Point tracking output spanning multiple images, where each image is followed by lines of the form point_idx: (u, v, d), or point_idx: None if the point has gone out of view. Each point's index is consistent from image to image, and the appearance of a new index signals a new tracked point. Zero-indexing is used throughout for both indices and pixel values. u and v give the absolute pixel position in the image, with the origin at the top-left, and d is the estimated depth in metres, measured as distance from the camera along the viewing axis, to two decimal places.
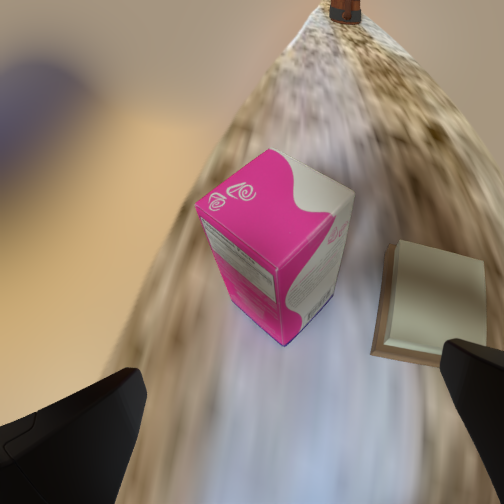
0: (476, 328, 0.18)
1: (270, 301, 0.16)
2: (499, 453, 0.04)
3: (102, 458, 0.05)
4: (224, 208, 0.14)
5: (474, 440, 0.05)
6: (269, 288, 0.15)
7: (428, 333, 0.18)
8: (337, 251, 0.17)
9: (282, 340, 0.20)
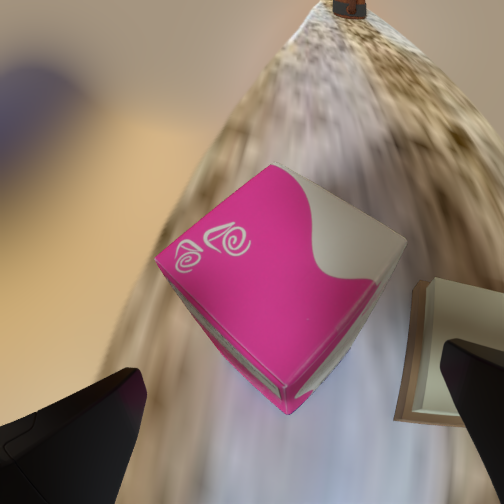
0: None
1: (272, 392, 0.10)
2: (499, 453, 0.04)
3: (102, 458, 0.05)
4: (199, 269, 0.09)
5: (474, 440, 0.05)
6: (272, 388, 0.09)
7: None
8: (367, 314, 0.12)
9: (286, 413, 0.15)
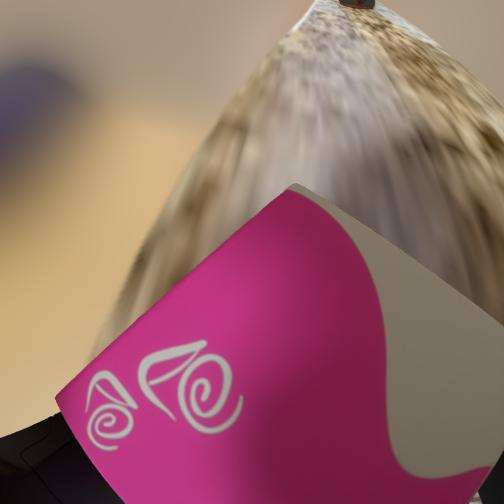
0: None
1: None
2: None
3: None
4: (131, 449, 0.03)
5: None
6: None
7: None
8: None
9: None
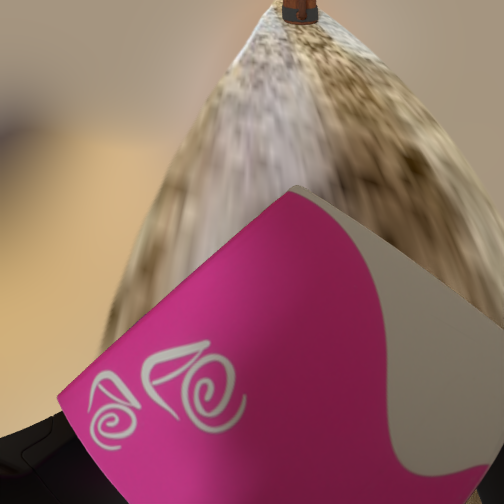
0: None
1: None
2: None
3: None
4: (134, 449, 0.03)
5: None
6: None
7: None
8: None
9: None
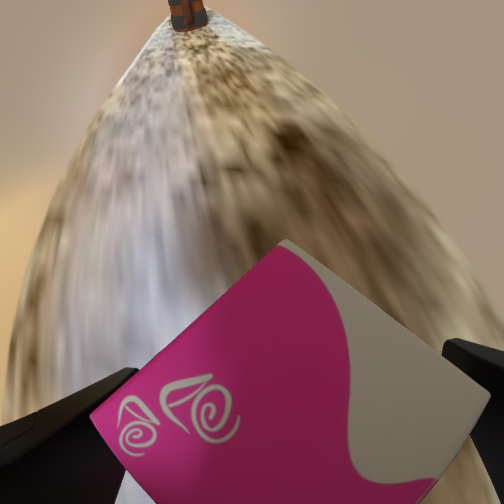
0: None
1: None
2: (499, 453, 0.04)
3: (102, 458, 0.05)
4: (155, 455, 0.04)
5: (474, 440, 0.05)
6: None
7: None
8: None
9: None
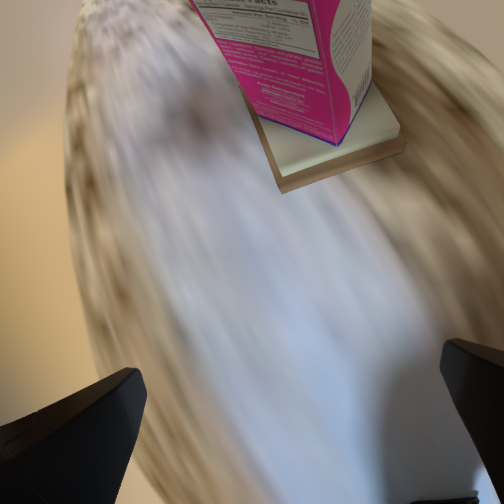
0: (371, 106, 0.17)
1: (310, 62, 0.10)
2: (499, 453, 0.04)
3: (102, 458, 0.05)
4: None
5: (474, 440, 0.05)
6: (306, 35, 0.09)
7: (318, 139, 0.17)
8: (366, 6, 0.10)
9: (334, 134, 0.15)
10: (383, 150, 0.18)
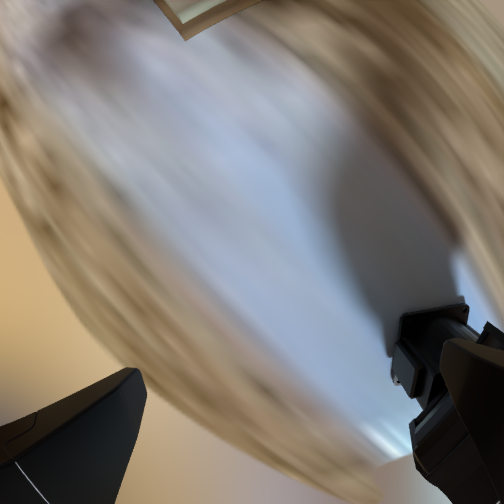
0: None
1: None
2: (499, 453, 0.04)
3: (102, 458, 0.05)
4: None
5: (474, 440, 0.05)
6: None
7: None
8: None
9: None
10: None
